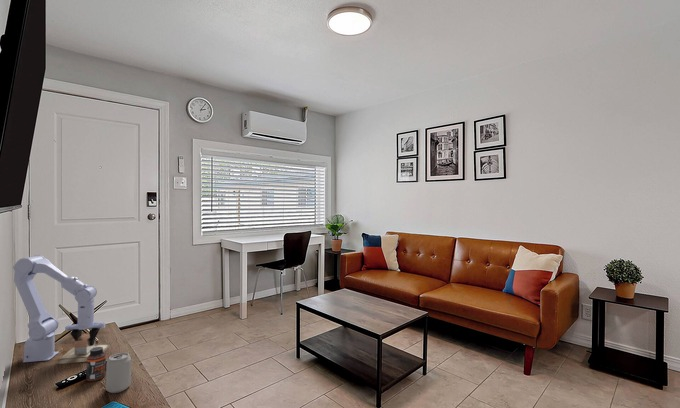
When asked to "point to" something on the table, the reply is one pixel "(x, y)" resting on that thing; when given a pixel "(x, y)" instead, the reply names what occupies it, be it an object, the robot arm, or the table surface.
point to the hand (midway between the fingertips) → (85, 345)
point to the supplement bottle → (96, 364)
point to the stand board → (72, 358)
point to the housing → (83, 344)
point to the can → (118, 372)
